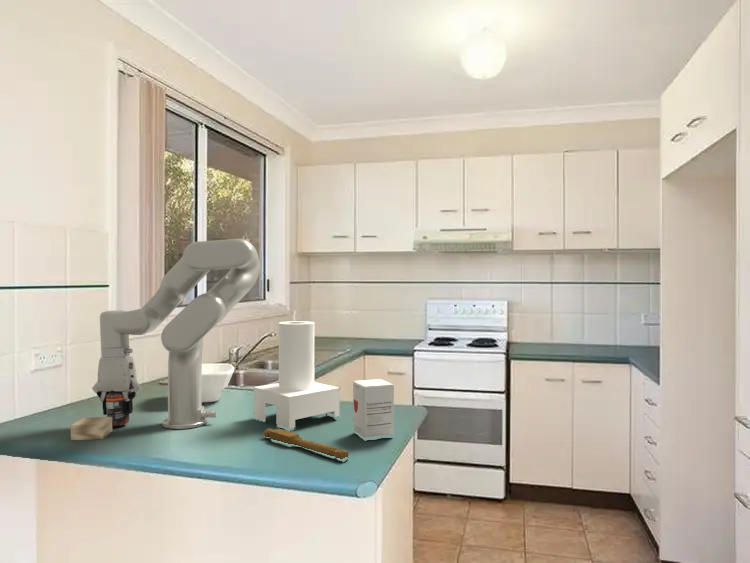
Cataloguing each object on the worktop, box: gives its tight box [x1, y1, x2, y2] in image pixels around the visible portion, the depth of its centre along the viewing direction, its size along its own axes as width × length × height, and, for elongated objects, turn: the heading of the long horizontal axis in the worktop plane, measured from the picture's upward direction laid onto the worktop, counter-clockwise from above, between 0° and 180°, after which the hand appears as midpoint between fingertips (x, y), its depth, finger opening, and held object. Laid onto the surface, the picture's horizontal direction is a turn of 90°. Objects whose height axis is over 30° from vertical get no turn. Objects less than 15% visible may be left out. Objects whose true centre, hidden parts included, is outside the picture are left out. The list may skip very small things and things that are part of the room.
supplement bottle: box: [106, 390, 130, 427], centre depth 162 cm, size 6×6×11 cm
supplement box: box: [352, 378, 395, 438], centre depth 153 cm, size 9×9×15 cm
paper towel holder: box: [253, 320, 341, 429], centre depth 170 cm, size 19×19×30 cm
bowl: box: [202, 363, 235, 403], centre depth 194 cm, size 22×22×12 cm
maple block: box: [70, 416, 113, 441], centre depth 152 cm, size 8×8×4 cm
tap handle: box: [263, 428, 350, 459], centre depth 142 cm, size 3×3×30 cm
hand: (117, 413), depth 162 cm, fingers closed on supplement bottle, 5 cm apart
